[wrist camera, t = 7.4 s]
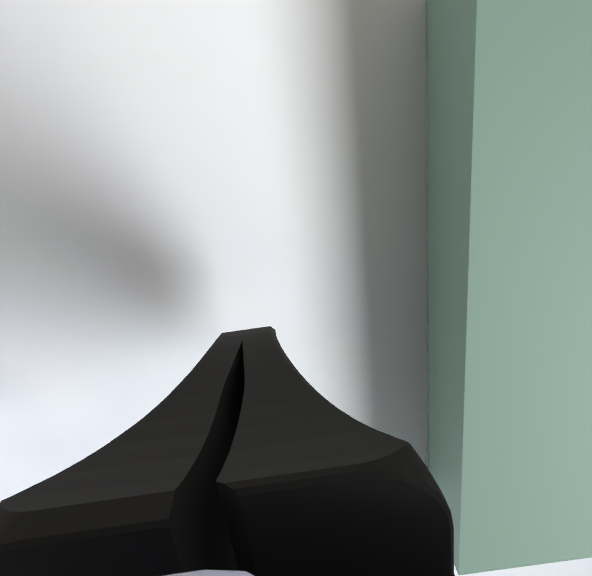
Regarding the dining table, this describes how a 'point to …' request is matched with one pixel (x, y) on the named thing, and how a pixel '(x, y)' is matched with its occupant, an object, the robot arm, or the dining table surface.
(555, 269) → the green book
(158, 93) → the dining table surface
